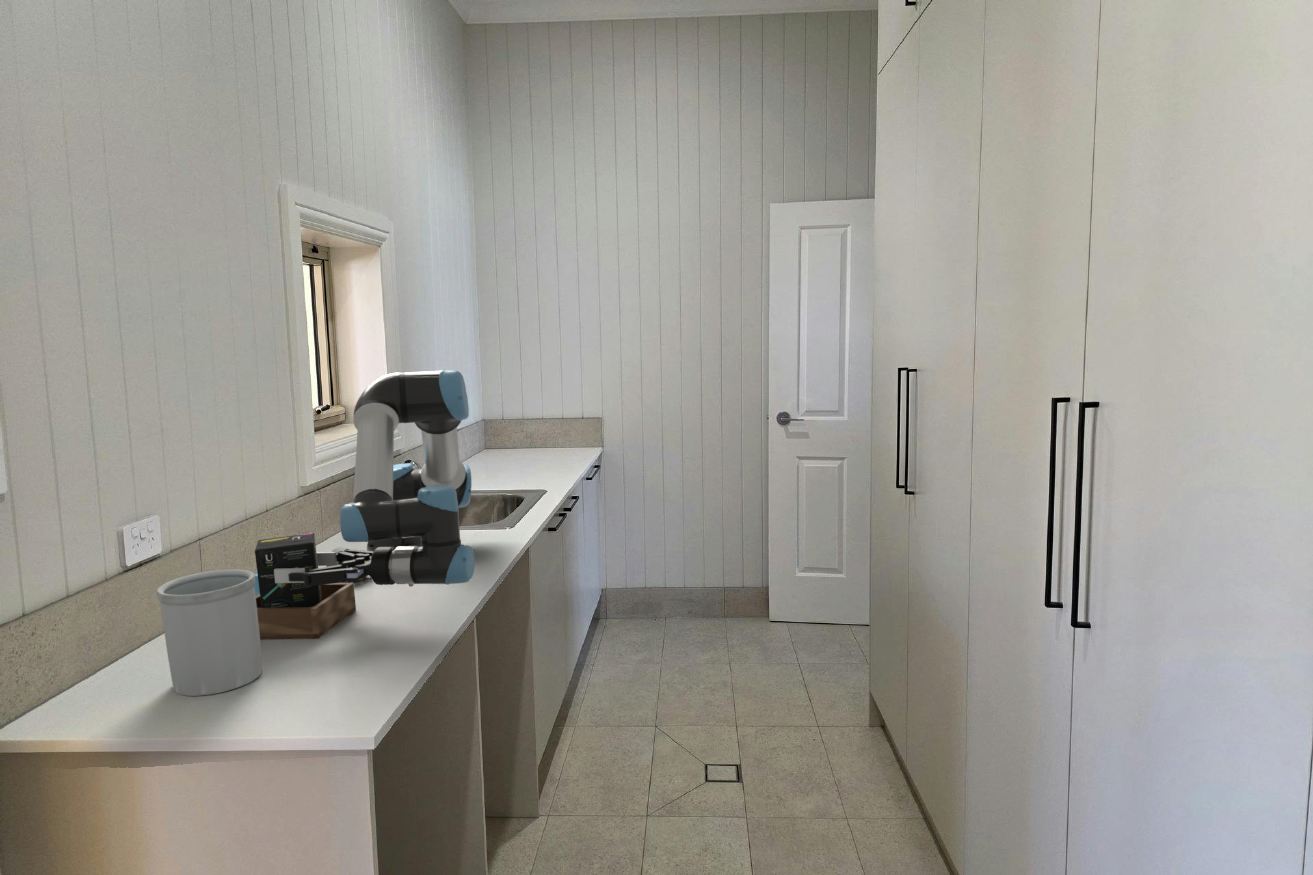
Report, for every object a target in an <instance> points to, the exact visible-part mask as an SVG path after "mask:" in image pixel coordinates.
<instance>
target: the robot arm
mask: <svg viewBox="0 0 1313 875" xmlns="http://www.w3.org/2000/svg"><path fill="white" fill-rule="evenodd" d="M469 409H470V408H469V401H468V394H467V387H466V382H465V378H464V376H463V374H462V373H461V372H460V371H459V370H447V369H443V370H442V369H441V370H429V371H428V370H426V371H424V370H423V371H410V372H392V373H389V374H388V373H387V374H385V375H382V376H380V377H378V378H376V380H374V381H373V382H371V383H370V384H369V385H368V386H367V387H366V388H365V389H364V390H363V392H362V393H361V394H360V396H359V398H358V399H357V401H356V404H355V406H354V411H353V417H352V418H353V425H354V428H355V429H356V430H357V431H356V447H355V448H356V449H355V465H354V484H353V500H352V502H350V503H345V504H343V505H342V506H341V508H340V510H339V511H340V512H339V525H340V526H339V527H340V534H341V537H342V539H343V540H344V541H345V542H347V543H367V544H366V550H364V549H355V548H354V549H353V548H348V549H345V550H344V551H339V552H337V553H336V552H331V551H321V552H320V551H316V554H317V562H318V568H317V569H311V570H308V567H307V566H306V567H304V568H281V569H274V576H275V583H304V585H305V586H306V587H309V586H315V585H324V584H333V583H356V582H360V581H359V579H361V578H364V579H366V578H367V577H370V579H371V580H372V582H373V583H374V584H376V585H378V586H379V585H381V586H382V585H383V586H385V585H386V586H387V585H388V586H391V585H394V584H396V585H408V587H410V588H411V587H414V585H452V584H454V585H455V584H464V583H468V582H469V581H470V580H471V579H472V578H473V576H474V572H475V567H476V565H475V564H476V560H475V555H474V550H473V548H472V547H471V546H470V545H468V544H467V545H465V544H462V539H461V531H460V528H461V527H460V515H459V513H460V512H459V511H460V509H459V508H466V507H467V506H469V505H470V501H471V498H472V497H471V496H472V472H471V468H470V466H469V465H467V464H464V463H463V461H461V460H460V456H459V455H460V454H459V441H458V440H459V439H458V438H459V436H458V427H459V426H460V424H461V423H462V421H463V420H467V419H468V418H469V414H470V411H469ZM411 423H413V424H415V426H416V427H417V428H418V429H419V430H420V432H421V441H422V446H423V447H422V448H423V455H424V456H423V457H424V464H423V465H422V467H418V468H414V466H413V464H412V463H409V462H407V463H399V464H398V463H397V464H394V457H395V456H394V454H395V453H394V449H395V448H394V447H395V446H394V442H395V441H394V440H395V438H394V437H395V431H396V430H397V428H398V426H399V424H411ZM337 561H338V565H337ZM321 566H323V567H321ZM326 566H329V567H326ZM366 576H367V577H366ZM365 577H366V578H365Z"/></svg>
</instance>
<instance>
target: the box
mask: <svg viewBox="0 0 1313 875" xmlns="http://www.w3.org/2000/svg"><path fill="white" fill-rule="evenodd" d="M321 596H322V599H321V602H320V603H319V604H317V605H316V606H314V607H285V608H261V600H260V594H258V595H257V596H255V597H256V606H257V615H258V624H259V634H260V640H319V639H320V638H322V637H323V636H325V635H326V634H327V633H328V632H329V631H331V630H332V629H334V627H336V626H337V625H338V624H340V623H342V622H343V621H344V620H345V619H346V618H348V617H349V616H351V615H352V614H354V612H355V611H357V606H356V605H357V604H356V594H355V582H342V583H333V584H324V585H321Z"/></svg>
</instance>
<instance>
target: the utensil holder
mask: <svg viewBox="0 0 1313 875" xmlns="http://www.w3.org/2000/svg"><path fill="white" fill-rule="evenodd" d="M254 584H255V573H254V572H252V571H250V570H248V569H247V570H246V569H240V568H239V569H235V568H232V569H231V568H230V569H226V568H225V569H217V570H211V571H210V570H209V571H203V572H197V573H193V574H189V575H183V576H182V577H181V576H180V577H178V578H175V579H172V580H169V581H168V582H165V583H164V584H161V585H160V586H159V587H158V588H157V590H156V597H157V600H158V601H159V605H160V611H161V612H160V613H161V619H162V625H163V633H164V639H165V646H166V654H167V659H168V663H169V664H168V666H169V672H170V677H171V682H172V687H173V691H174V692H175V693H177V695H181V696H186V697H201V696H208V695H217V694H220V693H224V692H227V691H232V690H234V689H238V688H241V687H244V686H245V685H247V684H249V683H251V682H253V681H254V680H256V679H257V678H258V677H259V676H260V675H261V673H262V671H263V664H262V663H263V662H262V649H261V648H262V646H261V639H260V634H259V624H258V615H257V606H256V597H255V588H254Z"/></svg>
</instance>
